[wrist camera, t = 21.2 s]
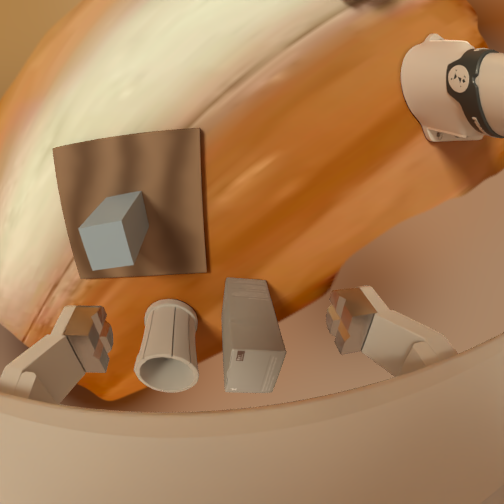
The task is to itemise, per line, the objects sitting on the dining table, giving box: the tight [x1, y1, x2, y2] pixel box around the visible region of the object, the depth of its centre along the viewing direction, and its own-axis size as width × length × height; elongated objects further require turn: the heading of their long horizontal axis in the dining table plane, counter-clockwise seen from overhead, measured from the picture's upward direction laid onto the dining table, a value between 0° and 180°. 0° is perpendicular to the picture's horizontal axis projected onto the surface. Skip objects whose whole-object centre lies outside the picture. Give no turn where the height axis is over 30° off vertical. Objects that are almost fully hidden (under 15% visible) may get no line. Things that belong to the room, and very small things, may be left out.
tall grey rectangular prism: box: [78, 191, 149, 271], centre depth 31 cm, size 5×5×10 cm
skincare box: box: [222, 278, 286, 393], centre depth 39 cm, size 8×7×16 cm
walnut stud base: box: [53, 128, 207, 279], centre depth 34 cm, size 20×20×7 cm
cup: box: [134, 299, 199, 392], centre depth 41 cm, size 10×9×12 cm
